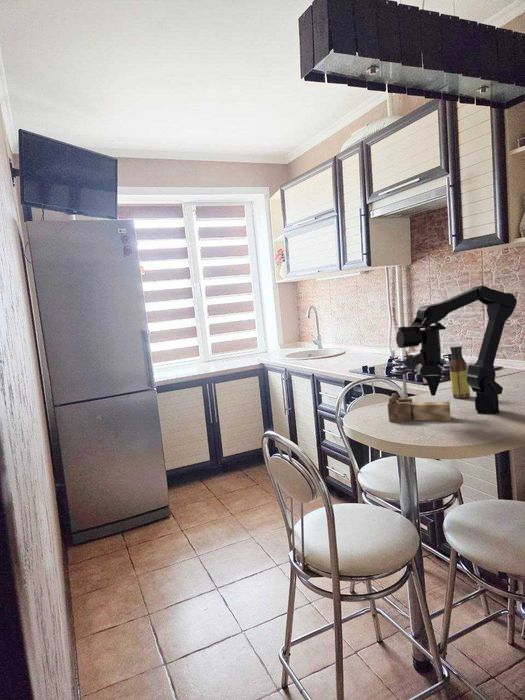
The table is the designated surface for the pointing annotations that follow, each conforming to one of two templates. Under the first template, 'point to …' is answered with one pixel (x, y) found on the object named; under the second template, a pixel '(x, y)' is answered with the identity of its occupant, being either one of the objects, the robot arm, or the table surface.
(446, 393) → the table surface
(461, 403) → the table surface
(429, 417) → the bed rail
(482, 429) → the table surface
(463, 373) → the sauce bottle
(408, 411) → the arched block with knobs
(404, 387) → the tow hook
